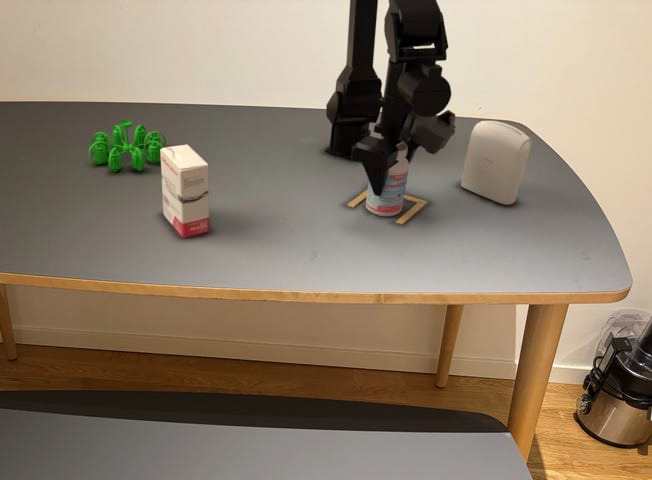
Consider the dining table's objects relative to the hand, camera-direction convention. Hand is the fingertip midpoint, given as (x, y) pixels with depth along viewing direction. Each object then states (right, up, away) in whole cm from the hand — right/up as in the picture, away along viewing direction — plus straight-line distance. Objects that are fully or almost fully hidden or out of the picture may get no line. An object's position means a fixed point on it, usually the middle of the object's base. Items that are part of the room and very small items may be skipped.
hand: (388, 187), depth 122 cm
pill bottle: (0, -3, +2) cm, 4 cm away
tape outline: (0, -3, +3) cm, 4 cm away
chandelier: (-45, +9, +17) cm, 49 cm away
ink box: (-33, -6, -2) cm, 34 cm away
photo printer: (+19, 0, +7) cm, 20 cm away
